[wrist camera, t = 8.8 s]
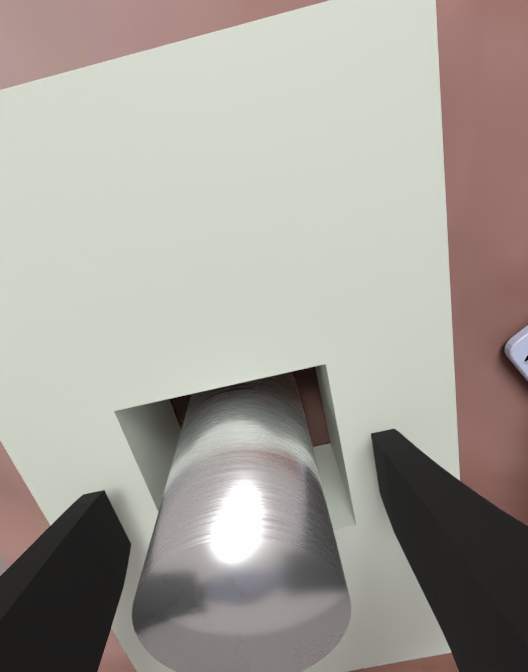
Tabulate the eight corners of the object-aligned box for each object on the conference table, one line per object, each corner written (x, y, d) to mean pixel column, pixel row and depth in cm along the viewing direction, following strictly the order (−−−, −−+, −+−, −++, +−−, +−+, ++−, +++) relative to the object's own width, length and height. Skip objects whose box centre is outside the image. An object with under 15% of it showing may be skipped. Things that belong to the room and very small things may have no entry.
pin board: (422, 552, 18) (468, 649, 14) (175, 600, 18) (156, 705, 15) (369, 49, 11) (434, -29, 7) (-35, 155, 11) (-178, 138, 7)
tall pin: (319, 395, 15) (394, 615, 7) (245, 457, 15) (243, 708, 8) (245, 326, 13) (241, 499, 6) (170, 396, 14) (85, 623, 7)
